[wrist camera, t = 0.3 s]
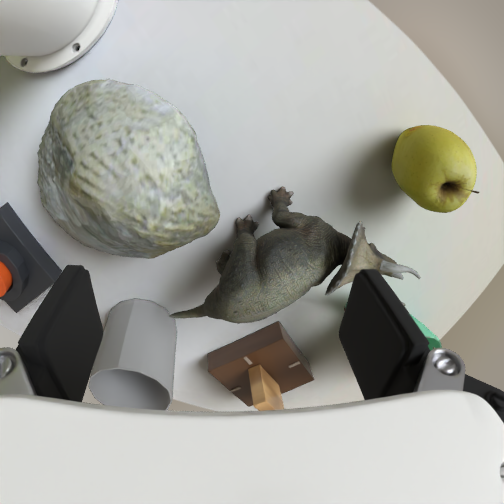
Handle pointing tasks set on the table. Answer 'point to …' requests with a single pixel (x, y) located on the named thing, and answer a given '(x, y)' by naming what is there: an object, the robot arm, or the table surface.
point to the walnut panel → (260, 362)
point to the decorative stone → (124, 171)
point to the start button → (4, 279)
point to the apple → (434, 168)
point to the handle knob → (264, 390)
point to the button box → (23, 261)
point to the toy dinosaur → (286, 264)
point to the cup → (136, 357)
